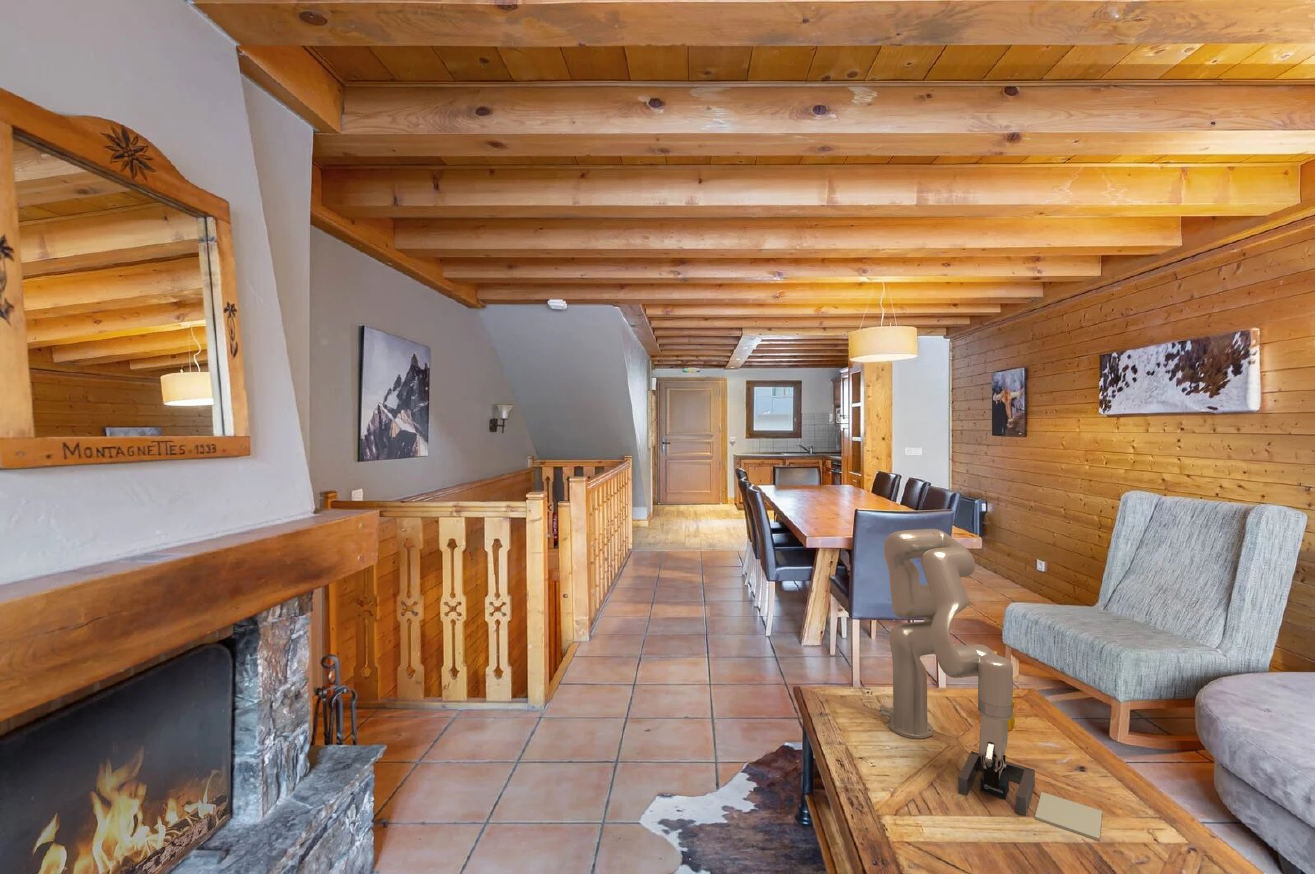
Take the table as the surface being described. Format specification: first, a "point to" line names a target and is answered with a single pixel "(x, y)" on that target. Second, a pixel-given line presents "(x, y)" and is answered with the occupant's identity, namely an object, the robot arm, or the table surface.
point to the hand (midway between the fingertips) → (994, 776)
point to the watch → (1003, 781)
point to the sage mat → (1069, 815)
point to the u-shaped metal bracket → (1011, 772)
